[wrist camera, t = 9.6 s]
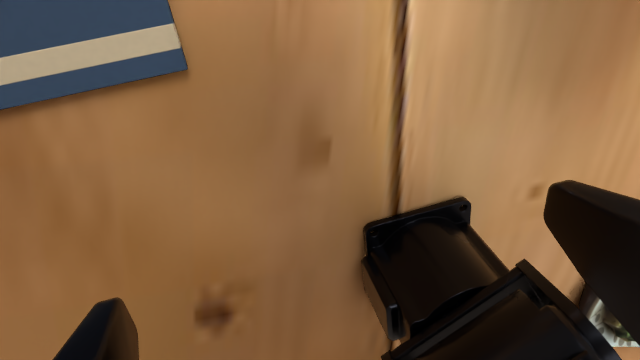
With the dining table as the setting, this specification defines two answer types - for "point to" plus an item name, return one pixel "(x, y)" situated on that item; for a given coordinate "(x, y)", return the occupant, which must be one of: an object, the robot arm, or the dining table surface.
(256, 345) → the dining table surface
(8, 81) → the napkin
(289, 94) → the dining table surface
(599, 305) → the salad plate
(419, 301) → the robot arm
